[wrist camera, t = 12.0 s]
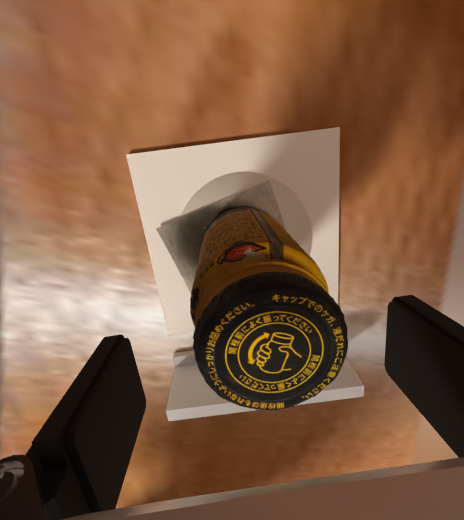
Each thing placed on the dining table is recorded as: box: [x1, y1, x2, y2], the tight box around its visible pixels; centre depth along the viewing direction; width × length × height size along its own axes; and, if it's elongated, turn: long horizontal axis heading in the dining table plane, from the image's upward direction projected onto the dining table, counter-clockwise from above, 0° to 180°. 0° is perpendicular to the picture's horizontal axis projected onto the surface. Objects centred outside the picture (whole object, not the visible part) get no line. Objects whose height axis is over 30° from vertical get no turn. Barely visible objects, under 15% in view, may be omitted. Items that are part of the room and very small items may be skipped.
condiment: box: [156, 180, 348, 410], centre depth 15 cm, size 7×8×12 cm
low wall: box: [166, 350, 364, 421], centre depth 22 cm, size 3×14×5 cm, turn 97°
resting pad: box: [126, 127, 340, 336], centre depth 20 cm, size 14×14×1 cm
